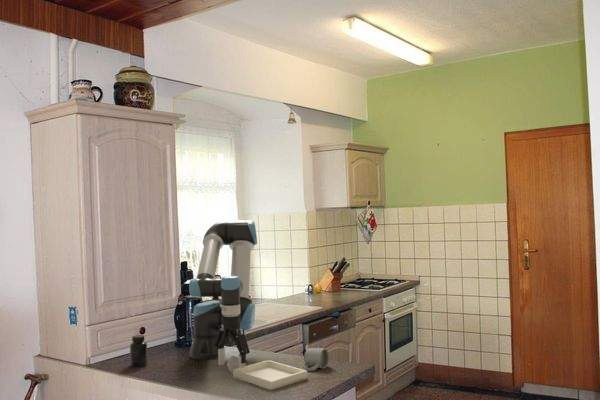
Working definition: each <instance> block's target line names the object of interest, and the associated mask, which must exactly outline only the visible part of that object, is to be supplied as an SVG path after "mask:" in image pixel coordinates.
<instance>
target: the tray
mask: <svg viewBox="0 0 600 400" xmlns="http://www.w3.org/2000/svg"><path fill="white" fill-rule="evenodd" d="M232 377H233V379H237V380H239V381H243V382H245V383H249V384H251V383H252V384H251V385H254V384H255V385H254V386H257V385H258V386H257V387H260V386H261V387H260V388H263V389H266V390H270V391H274V390H277V389H281V388H282V387H283V388H284V387H286V386H290V385H293V384H296V383H298V382H302V381H305V380H307V379H308V371H307V370H305V369H302V368H298V367H295V366H292V365H288V364H284V363H281V362H277V361H274V360H270V359H268V360H264V361H259V362H256V363H251V364H249V365H246V366H245V367H241V368H237V369H234V370H233V372H232Z"/></svg>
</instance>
